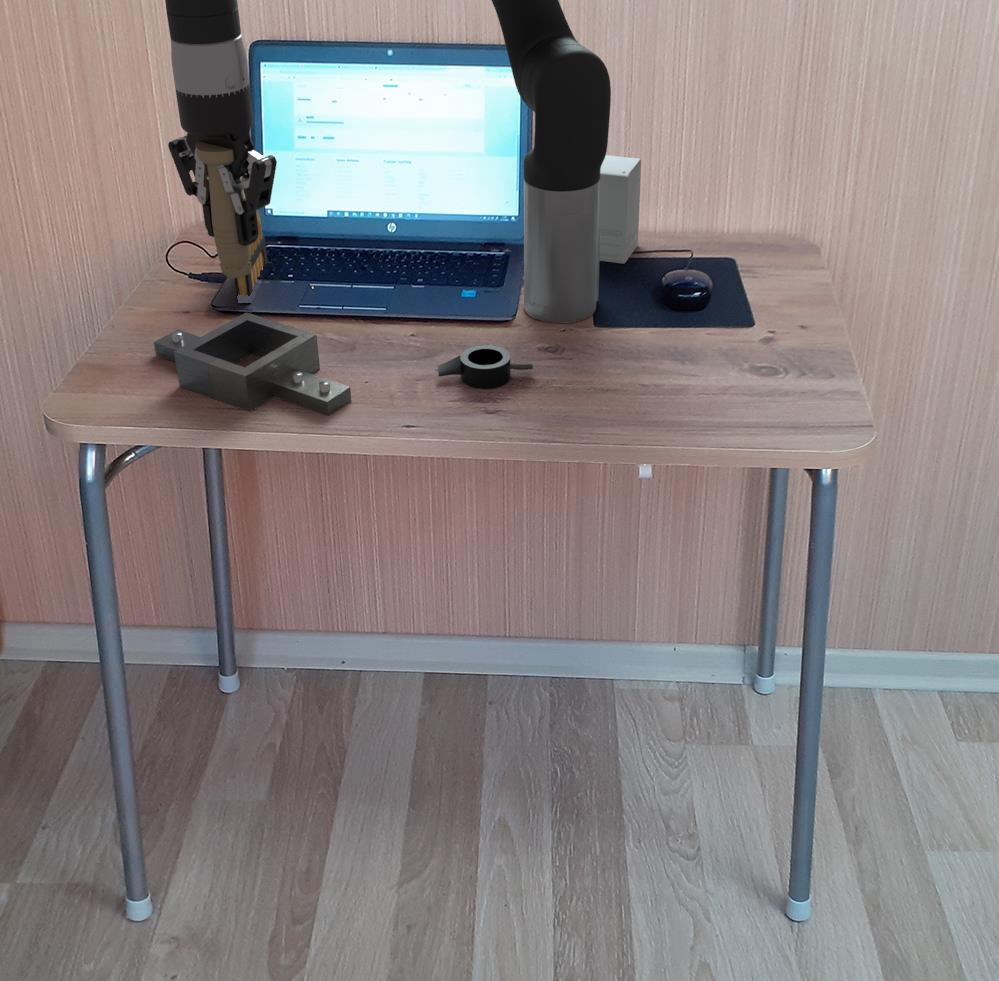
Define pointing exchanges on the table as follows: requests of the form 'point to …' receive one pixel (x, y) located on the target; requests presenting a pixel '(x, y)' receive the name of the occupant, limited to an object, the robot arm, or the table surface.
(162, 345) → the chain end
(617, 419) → the table surface
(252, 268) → the ammunition clip
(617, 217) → the supplement box
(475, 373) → the dark grey winged ring
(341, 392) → the bracket
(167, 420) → the table surface
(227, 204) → the handle
